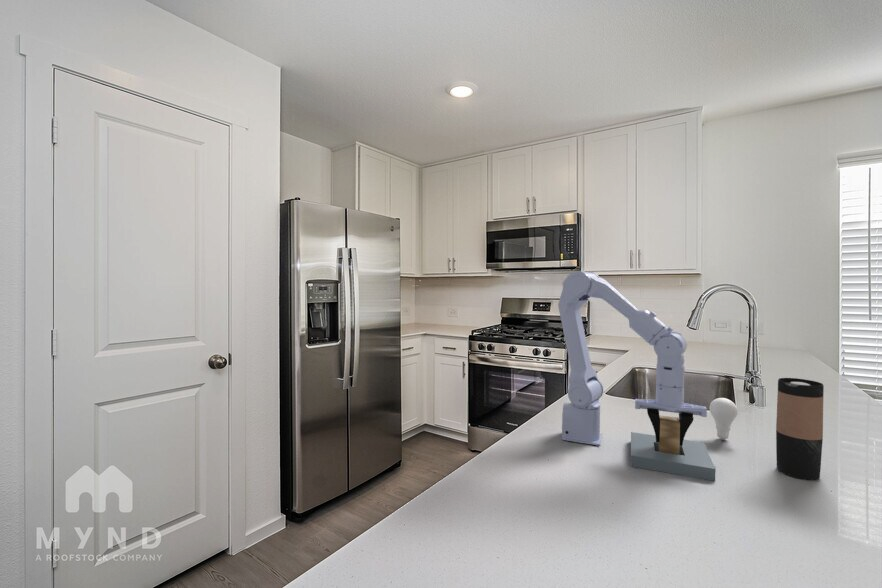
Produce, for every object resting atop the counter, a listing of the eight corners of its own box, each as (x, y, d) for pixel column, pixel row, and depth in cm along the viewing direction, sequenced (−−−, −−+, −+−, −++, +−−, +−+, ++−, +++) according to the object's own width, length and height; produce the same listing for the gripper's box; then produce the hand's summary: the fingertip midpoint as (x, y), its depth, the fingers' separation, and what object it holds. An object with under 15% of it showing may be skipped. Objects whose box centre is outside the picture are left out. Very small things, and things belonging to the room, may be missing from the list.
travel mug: (810, 468, 92) (812, 379, 92) (829, 483, 85) (832, 387, 85) (769, 463, 95) (771, 376, 94) (784, 478, 88) (786, 384, 87)
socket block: (630, 466, 93) (631, 455, 93) (630, 441, 107) (631, 432, 107) (715, 480, 86) (715, 469, 86) (703, 452, 101) (703, 442, 101)
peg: (659, 454, 96) (660, 420, 96) (658, 448, 99) (659, 415, 99) (679, 457, 94) (680, 422, 94) (677, 451, 98) (678, 417, 98)
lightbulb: (741, 445, 106) (742, 402, 105) (714, 443, 107) (715, 400, 107) (730, 436, 112) (731, 395, 111) (704, 434, 113) (705, 394, 112)
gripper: (635, 385, 96) (634, 443, 96) (709, 392, 90) (708, 454, 90) (635, 378, 102) (634, 433, 103) (704, 385, 96) (703, 443, 97)
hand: (668, 442), depth 97 cm, fingers closed on peg, 4 cm apart
